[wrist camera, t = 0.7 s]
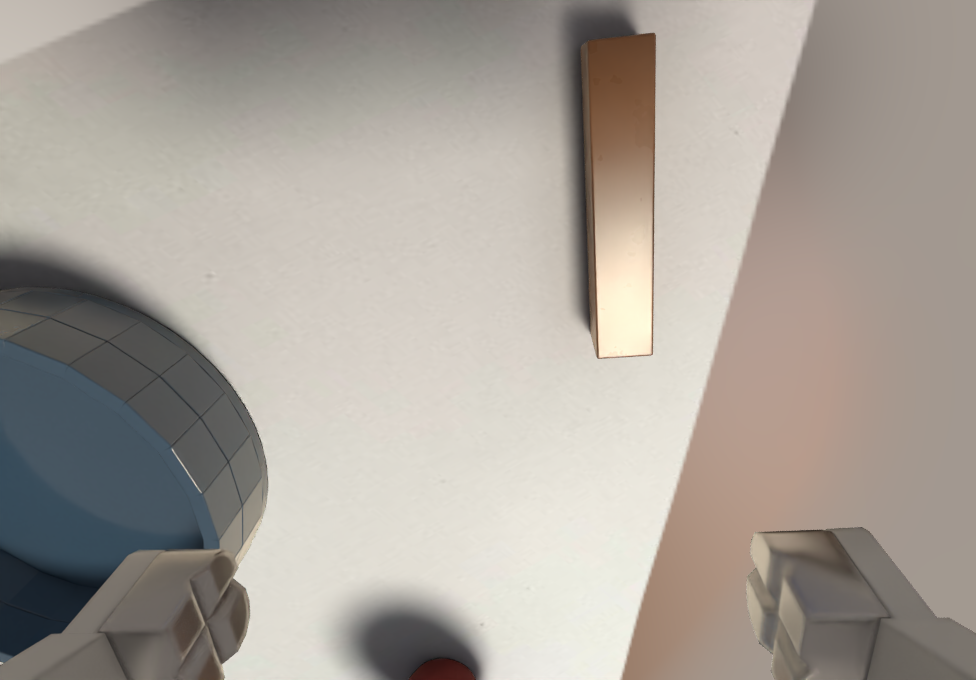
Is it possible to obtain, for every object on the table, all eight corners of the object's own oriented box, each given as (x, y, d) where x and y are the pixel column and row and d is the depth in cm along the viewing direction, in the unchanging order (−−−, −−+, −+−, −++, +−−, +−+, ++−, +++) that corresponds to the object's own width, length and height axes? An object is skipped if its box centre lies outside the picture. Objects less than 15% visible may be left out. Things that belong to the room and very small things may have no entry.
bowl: (-158, 301, 31) (-304, 347, 26) (212, 270, 29) (140, 312, 24) (2, 595, 39) (-83, 677, 34) (302, 585, 37) (264, 672, 32)
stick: (580, 45, 25) (587, 40, 22) (641, 38, 24) (656, 31, 22) (590, 334, 30) (597, 359, 27) (641, 331, 29) (653, 356, 27)
